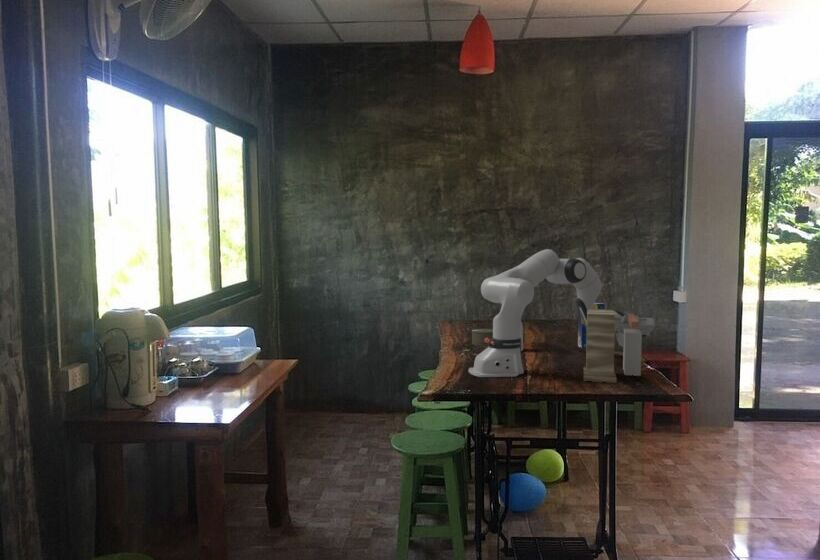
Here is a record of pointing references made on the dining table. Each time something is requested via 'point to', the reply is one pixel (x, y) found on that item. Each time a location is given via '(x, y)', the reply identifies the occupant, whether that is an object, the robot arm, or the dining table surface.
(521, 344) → the milk bottle
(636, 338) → the seat block
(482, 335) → the can
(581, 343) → the beverage box
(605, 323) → the stand
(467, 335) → the dining table surface
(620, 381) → the dining table surface
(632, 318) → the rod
